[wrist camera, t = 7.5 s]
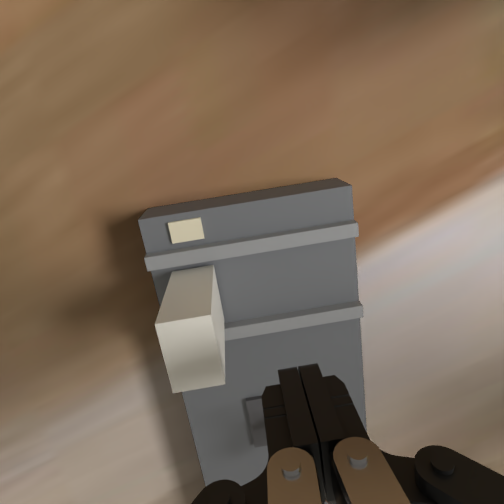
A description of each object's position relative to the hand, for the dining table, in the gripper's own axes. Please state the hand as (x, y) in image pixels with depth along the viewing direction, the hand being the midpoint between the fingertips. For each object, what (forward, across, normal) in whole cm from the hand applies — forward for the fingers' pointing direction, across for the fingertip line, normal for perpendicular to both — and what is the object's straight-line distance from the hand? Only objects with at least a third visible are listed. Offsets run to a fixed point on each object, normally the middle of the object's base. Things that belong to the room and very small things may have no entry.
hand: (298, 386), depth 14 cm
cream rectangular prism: (+9, +4, 0) cm, 10 cm away
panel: (+12, +1, +10) cm, 16 cm away
